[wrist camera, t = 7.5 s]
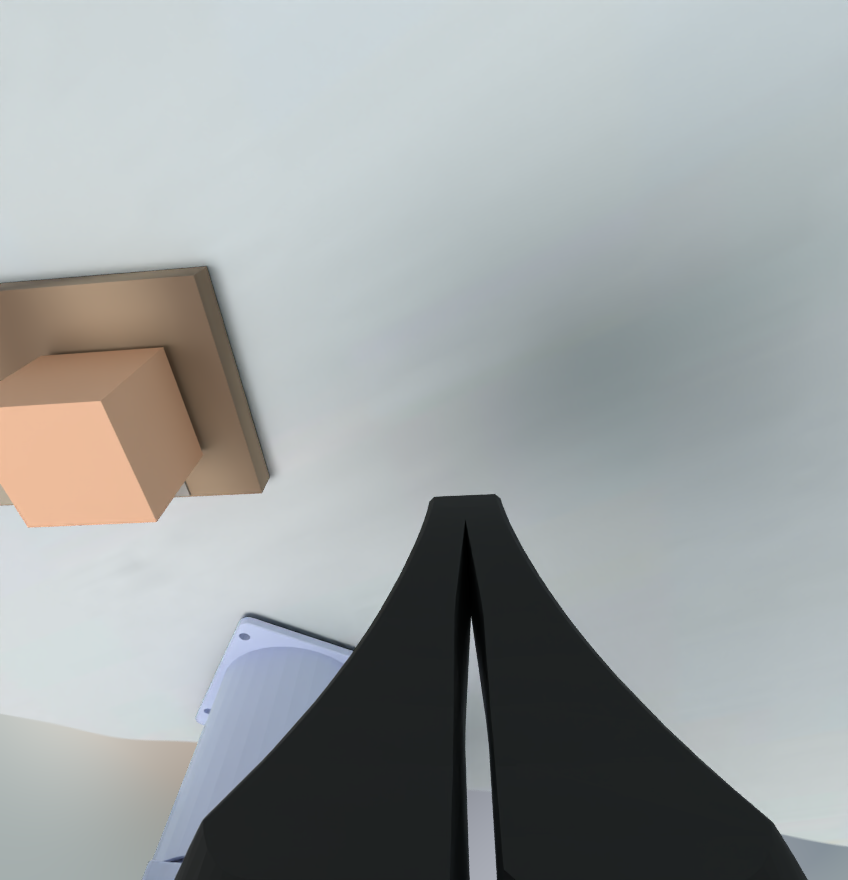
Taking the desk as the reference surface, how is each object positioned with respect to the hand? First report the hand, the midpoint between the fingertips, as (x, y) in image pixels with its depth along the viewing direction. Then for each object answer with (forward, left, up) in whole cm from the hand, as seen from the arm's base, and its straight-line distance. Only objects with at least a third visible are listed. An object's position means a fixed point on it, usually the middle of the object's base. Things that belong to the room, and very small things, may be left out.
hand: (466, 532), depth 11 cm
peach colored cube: (-6, +9, -7) cm, 13 cm away
